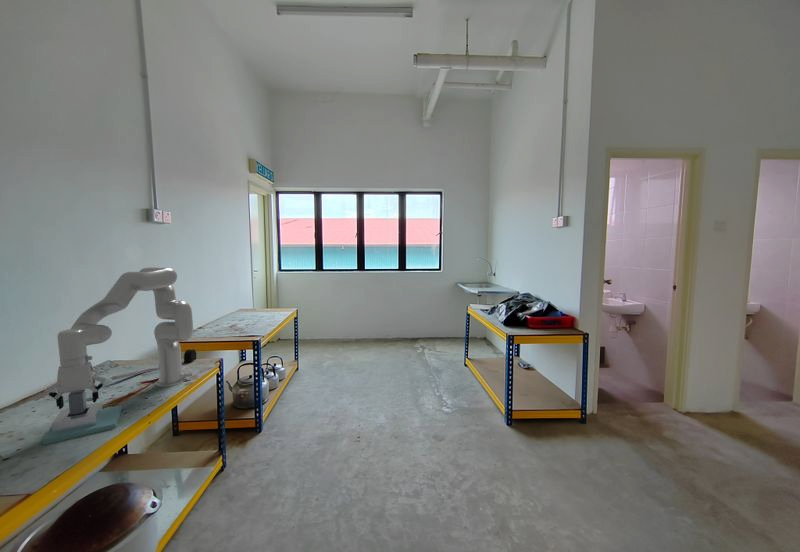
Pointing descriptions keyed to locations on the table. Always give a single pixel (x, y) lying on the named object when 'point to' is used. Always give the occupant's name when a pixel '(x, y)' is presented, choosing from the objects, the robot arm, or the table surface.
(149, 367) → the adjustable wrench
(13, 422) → the table surface
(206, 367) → the table surface
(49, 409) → the table surface
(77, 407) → the key pin
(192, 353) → the tape measure
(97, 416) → the chuck block
